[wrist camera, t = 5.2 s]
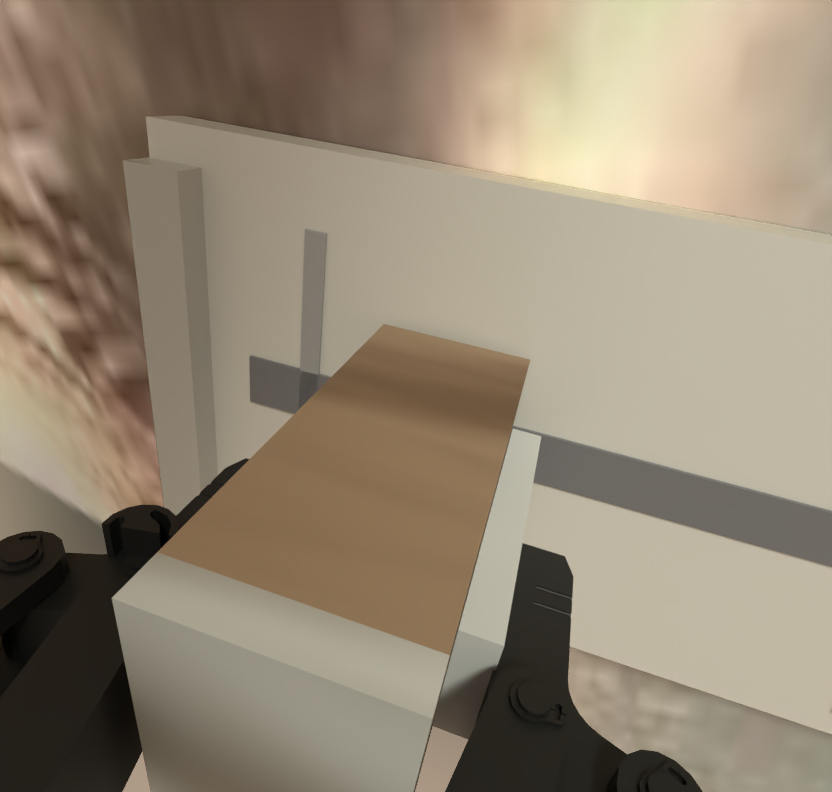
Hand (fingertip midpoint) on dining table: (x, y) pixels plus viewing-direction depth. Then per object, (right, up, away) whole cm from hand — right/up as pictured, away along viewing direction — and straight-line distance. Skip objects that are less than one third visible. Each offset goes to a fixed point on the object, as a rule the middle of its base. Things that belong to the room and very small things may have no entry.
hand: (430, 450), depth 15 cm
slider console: (+6, 0, +1) cm, 6 cm away
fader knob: (0, 0, +1) cm, 1 cm away
